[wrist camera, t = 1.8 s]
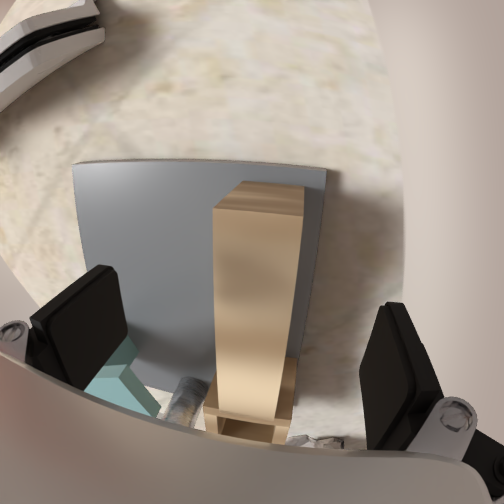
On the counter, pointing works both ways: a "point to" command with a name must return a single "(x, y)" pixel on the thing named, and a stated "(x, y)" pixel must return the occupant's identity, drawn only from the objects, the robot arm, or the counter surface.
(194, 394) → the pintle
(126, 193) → the plate
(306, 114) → the counter surface
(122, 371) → the bracket
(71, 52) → the white slotted curved device
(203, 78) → the counter surface
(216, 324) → the wooden block with hole
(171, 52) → the counter surface
